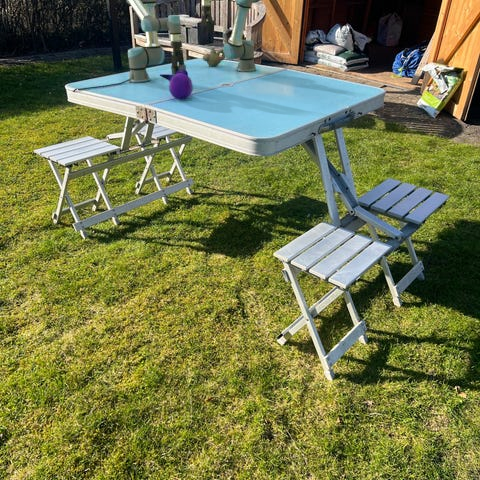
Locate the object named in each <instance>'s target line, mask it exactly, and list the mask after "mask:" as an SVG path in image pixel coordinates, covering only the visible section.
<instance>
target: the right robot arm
mask: <svg viewBox="0 0 480 480" xmlns="http://www.w3.org/2000/svg"><path fill="white" fill-rule="evenodd" d="M234 1H235V5H236V12H235V16H234V21H233V26H232V30H231V34H230V37H229V38H228V39H227V42H226V43H224V45H223V47H222V49H223V52H224V55H225V59H227V60H234V59H239V61H238V65H237V67H236V70H237V72H241V73H250V72H255V71H256V70H257V68H256V63H255V61H254V58H255V57H254V54H255V52H254V49H255V48H254V47H255V45H254V40H248V39H243V37H244V32H245V28H246V23H247V18H248V14H249V11H250V10H251V9H252V6H253V4H257V3H259V2H261V0H234ZM200 3H201V12H202V13H201V20H200V27H201V30H202V31H201V32H202V37H206V36H207V28H206V23H208V35H214V34H213V26H214V20H213V15H212V0H200Z"/></svg>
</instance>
